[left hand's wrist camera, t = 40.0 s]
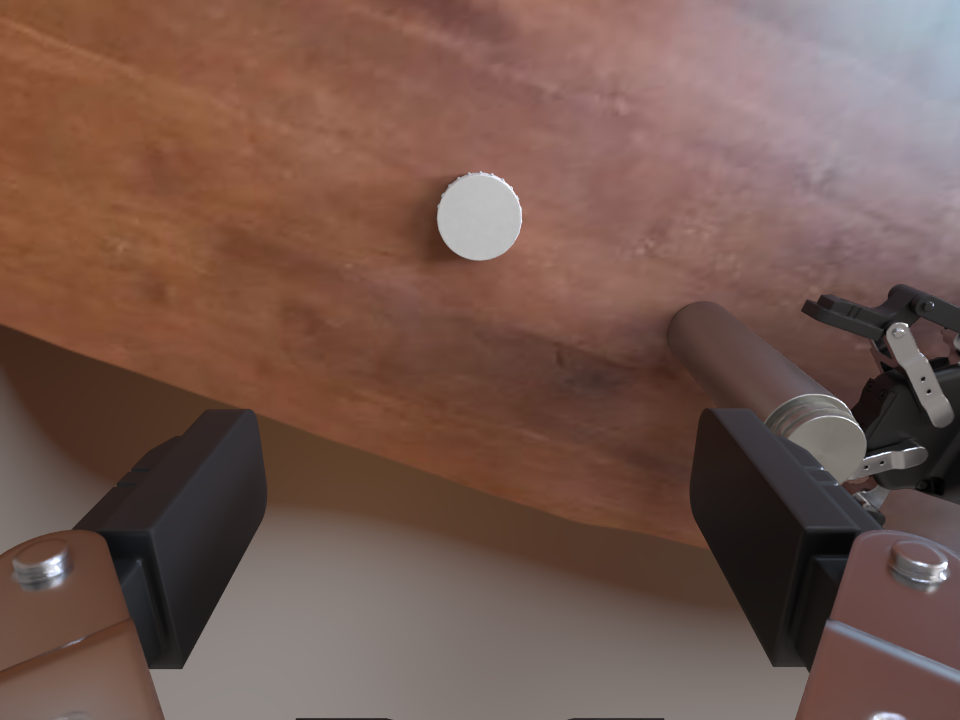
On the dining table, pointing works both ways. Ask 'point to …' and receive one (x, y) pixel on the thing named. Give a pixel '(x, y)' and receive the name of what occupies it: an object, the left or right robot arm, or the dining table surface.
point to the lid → (479, 216)
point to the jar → (766, 386)
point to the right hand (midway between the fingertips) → (772, 376)
